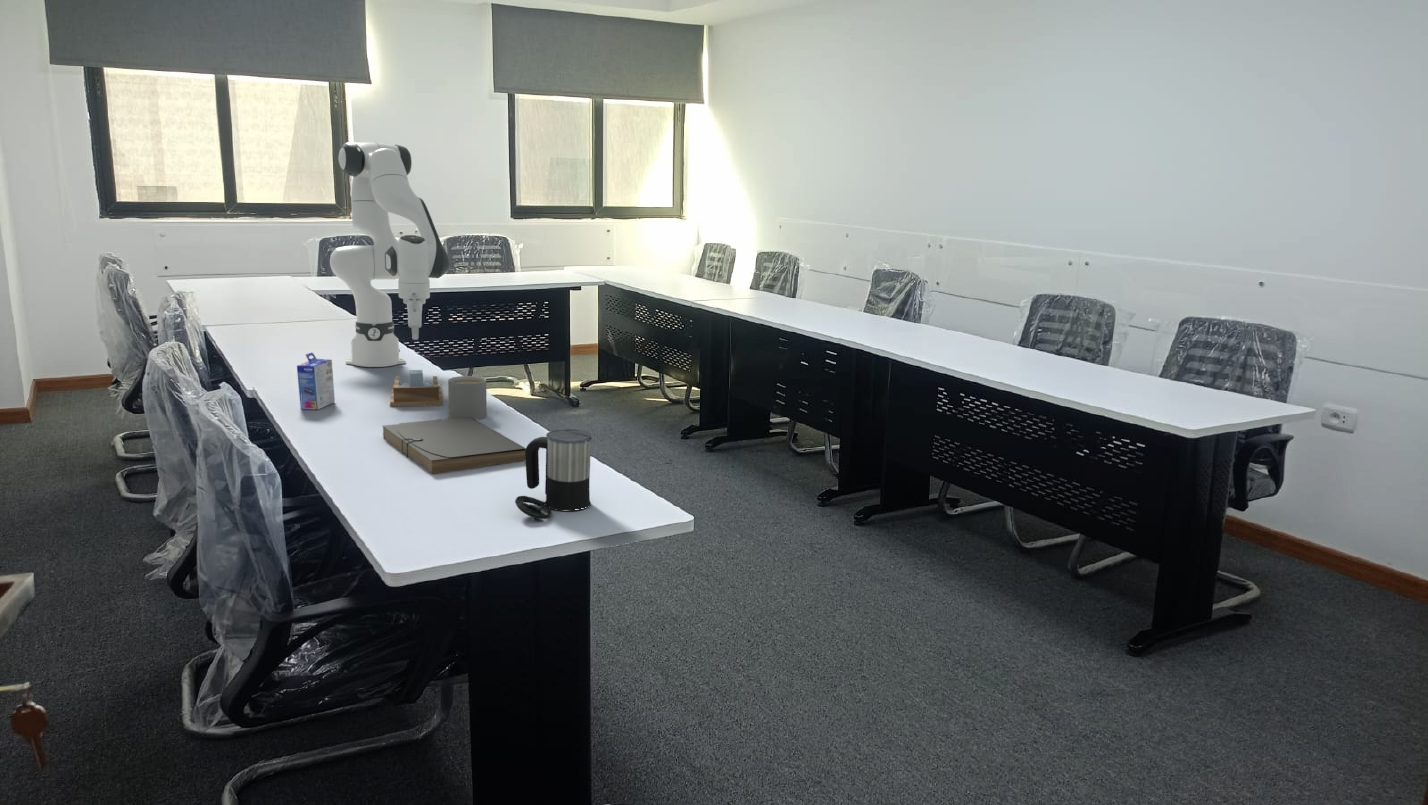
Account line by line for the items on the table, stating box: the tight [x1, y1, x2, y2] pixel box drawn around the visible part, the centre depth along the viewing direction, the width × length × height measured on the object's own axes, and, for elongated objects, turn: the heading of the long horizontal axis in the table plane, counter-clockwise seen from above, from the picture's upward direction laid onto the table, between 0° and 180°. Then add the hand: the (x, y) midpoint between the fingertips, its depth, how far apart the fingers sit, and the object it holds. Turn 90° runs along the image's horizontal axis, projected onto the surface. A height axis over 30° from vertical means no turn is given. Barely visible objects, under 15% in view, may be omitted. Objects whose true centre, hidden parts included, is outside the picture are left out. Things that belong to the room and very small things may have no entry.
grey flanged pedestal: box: [402, 369, 431, 387], centre depth 282 cm, size 6×8×5 cm
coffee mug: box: [447, 375, 488, 421], centre depth 261 cm, size 13×10×10 cm
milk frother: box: [514, 428, 593, 520], centre depth 191 cm, size 14×16×15 cm
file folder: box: [382, 417, 526, 475], centre depth 230 cm, size 33×4×24 cm
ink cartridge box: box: [296, 352, 336, 411], centre depth 262 cm, size 10×6×14 cm, turn 174°
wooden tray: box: [389, 375, 444, 407], centre depth 278 cm, size 22×14×5 cm, turn 17°
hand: (415, 338), depth 287 cm, fingers open, 3 cm apart
